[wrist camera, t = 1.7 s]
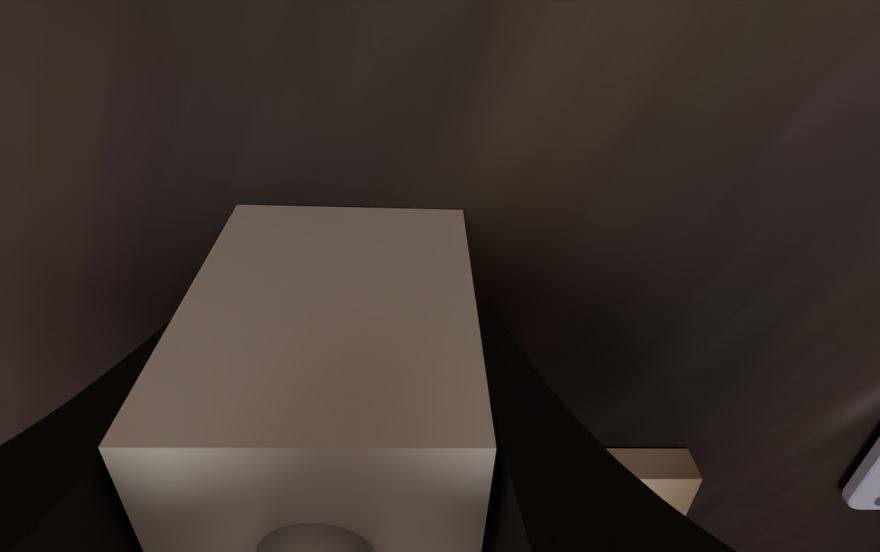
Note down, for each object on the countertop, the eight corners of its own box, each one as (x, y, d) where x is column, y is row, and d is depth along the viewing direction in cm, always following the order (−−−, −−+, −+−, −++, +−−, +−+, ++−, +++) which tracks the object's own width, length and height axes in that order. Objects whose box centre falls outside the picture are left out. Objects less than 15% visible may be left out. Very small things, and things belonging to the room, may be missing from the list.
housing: (462, 209, 12) (507, 526, 6) (450, 373, 14) (474, 709, 8) (237, 205, 11) (50, 530, 6) (265, 371, 14) (156, 716, 8)
